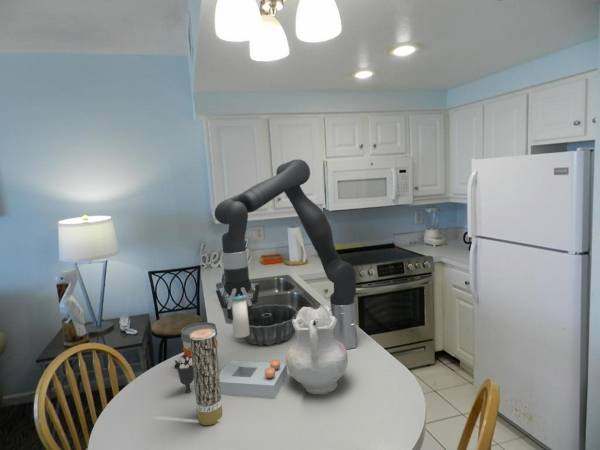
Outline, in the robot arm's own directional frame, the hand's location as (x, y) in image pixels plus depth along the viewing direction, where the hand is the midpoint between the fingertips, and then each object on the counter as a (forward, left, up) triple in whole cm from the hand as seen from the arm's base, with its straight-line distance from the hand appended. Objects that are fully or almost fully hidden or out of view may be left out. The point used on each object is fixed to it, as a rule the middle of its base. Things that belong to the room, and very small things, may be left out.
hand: (240, 317), depth 124 cm
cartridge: (0, 0, -5) cm, 5 cm away
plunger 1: (-9, +3, -20) cm, 22 cm away
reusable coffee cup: (+21, -10, -23) cm, 33 cm away
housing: (-2, 0, -23) cm, 23 cm away
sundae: (+17, +7, -23) cm, 29 cm away
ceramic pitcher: (-23, -3, -23) cm, 33 cm away
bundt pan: (+6, -40, -23) cm, 47 cm away
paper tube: (+4, +18, -23) cm, 29 cm away
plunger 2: (-9, -3, -20) cm, 22 cm away
